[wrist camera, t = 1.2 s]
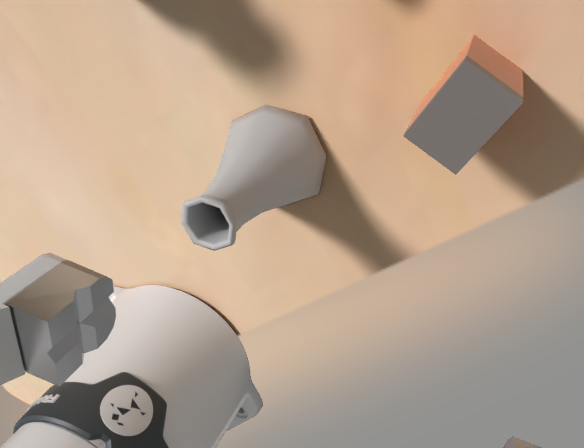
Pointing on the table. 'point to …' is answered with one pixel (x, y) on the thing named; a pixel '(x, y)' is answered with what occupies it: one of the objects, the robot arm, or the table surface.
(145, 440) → the robot arm
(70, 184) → the table surface
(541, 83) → the table surface
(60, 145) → the table surface
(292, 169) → the flask
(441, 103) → the block
